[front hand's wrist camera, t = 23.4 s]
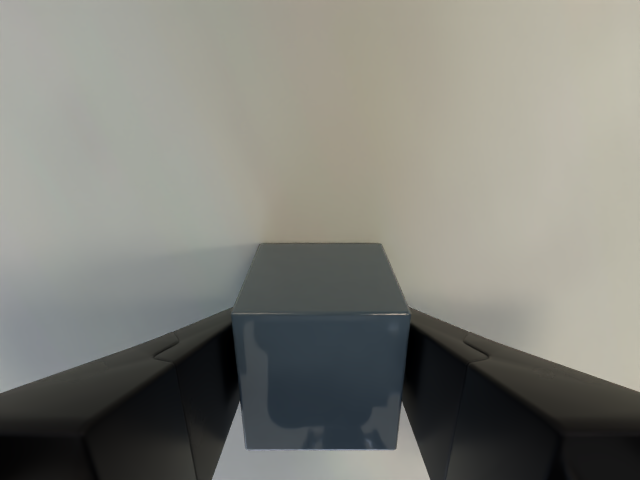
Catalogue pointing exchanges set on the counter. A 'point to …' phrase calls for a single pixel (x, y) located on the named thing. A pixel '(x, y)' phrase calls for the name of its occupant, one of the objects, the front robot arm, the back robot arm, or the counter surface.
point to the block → (320, 348)
